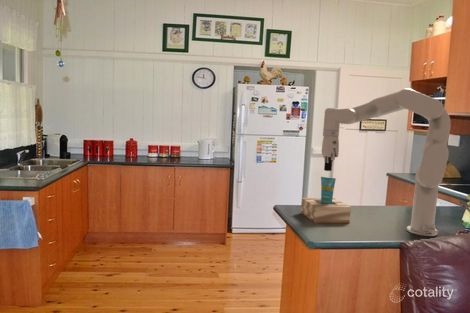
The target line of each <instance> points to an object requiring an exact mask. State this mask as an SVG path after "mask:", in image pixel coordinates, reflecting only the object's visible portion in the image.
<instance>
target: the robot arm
mask: <svg viewBox="0 0 470 313" xmlns="http://www.w3.org/2000/svg"><path fill="white" fill-rule="evenodd" d="M403 110H408V111H409V112H412V113H415V114H417V115H419V116H421V117H423V118H425V119H427V121H428V129H427V134H426V137H425V140H424V142H425V143H424V145H423V148H422V159H421V162H420V165H419V167H418V168H417V169H416V171H415V178H414V179H415V180H414V193H413V200H412V209H411V220H410V225H408V226H406V231H407V232H408V233H411V234H414V235H418V236H423V237H436V236H437V235H438V233H439V230H438V229H436V225H435V222H436V220H435V219H436V213H437V212H436V211H437V203H438V197H439V196H438V194H439V185H440V184H441V183H442V181H443V180H444V179H443V178H444V175H445V172H446V167H447V164H448V159H449V154H450V152H449V147H448V142H449V137H450V132H451V128H452V127H451V124H452V123H451V122H452V121H451V117H450V115H449V112H447V110H446V109H445V107H444V104H443V103H442V101H440V100H438V99H436V98H433V97H431V96H428V95H426V94H424V93H421V92H419V91H416V90H414V89H412V88H406V87H405V88H402V89H401V90H400V91H397V92H393V93H390V94H387V95H383V96H380V97H377V98H374V99H372V100H370V101H369V102H367V103H363V104H361V105H358V106H356V107H351V108H350V107H349V108H335V107H327V108H325V110H324V118H323V129H322V137H323V138H322V145H321V155H322V157H323V158H324V159H323V160H324V168H323V171H326V172H331V171H332V168H333V162H334V161H335V158H338V157H339V150H340V148H339V147H340V145H339V144H340V140H339V134H340V126H341V125H340V124H344V125H353V124H356V123H359V122H362V121H367V120H370V119H374V118H380V117H383V116H386V115H390V114H393V113H396V112H399V111H403Z"/></svg>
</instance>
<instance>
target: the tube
mask: <svg viewBox="0 0 470 313" xmlns="http://www.w3.org/2000/svg"><path fill="white" fill-rule="evenodd" d="M336 180H337V179H336V178H335V177H325V176H320V181H321V184H320V185H321V192H320V193H321V194H320V198H321V205H332V198H334V197H333V196H334V190H335V183H336Z"/></svg>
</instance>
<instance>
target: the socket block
mask: <svg viewBox="0 0 470 313" xmlns="http://www.w3.org/2000/svg"><path fill="white" fill-rule="evenodd" d="M300 208H301V209H300V214H301V213H302V215H303V214H304V215H305V216H306V218H307V219H308V218H309V219H310V221H311V222H312V221H313V222H314V223H313V222H312V223H313V224H350V220H351V211H352V210H351V209H352V207H351V206H350V205H348V204H347V203H344V202H342V201H340V200H339V199H337V198H335V197H333V198H332V205H321V197H316V198H315V197H302V198H301V207H300ZM304 215H303V216H304ZM305 216H304V217H305ZM309 219H308V220H309Z"/></svg>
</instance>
